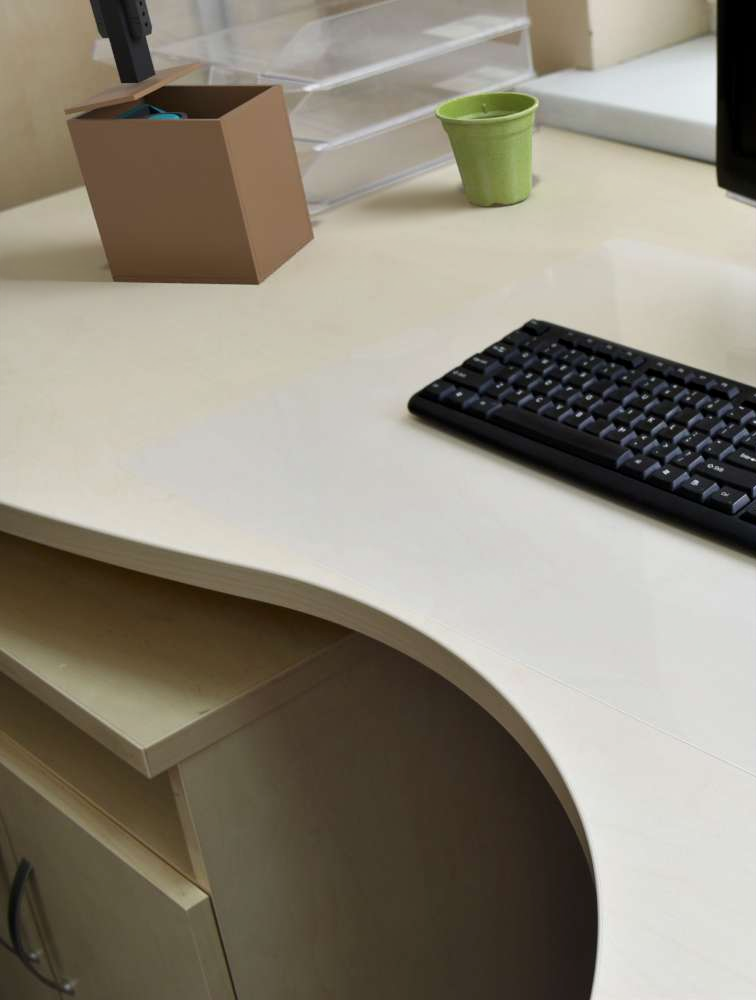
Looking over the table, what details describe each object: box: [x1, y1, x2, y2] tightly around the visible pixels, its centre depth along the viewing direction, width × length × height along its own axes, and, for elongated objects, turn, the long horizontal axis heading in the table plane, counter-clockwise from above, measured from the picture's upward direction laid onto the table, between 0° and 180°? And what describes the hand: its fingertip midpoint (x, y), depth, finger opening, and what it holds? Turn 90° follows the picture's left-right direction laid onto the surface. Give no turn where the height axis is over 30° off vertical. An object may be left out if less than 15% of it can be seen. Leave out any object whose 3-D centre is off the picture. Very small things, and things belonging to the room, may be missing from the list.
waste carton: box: [66, 83, 315, 285], centre depth 115 cm, size 13×11×14 cm
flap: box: [63, 61, 204, 115], centre depth 111 cm, size 6×11×1 cm, turn 172°
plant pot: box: [434, 91, 540, 207], centre depth 128 cm, size 9×9×9 cm
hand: (138, 78), depth 111 cm, fingers closed
